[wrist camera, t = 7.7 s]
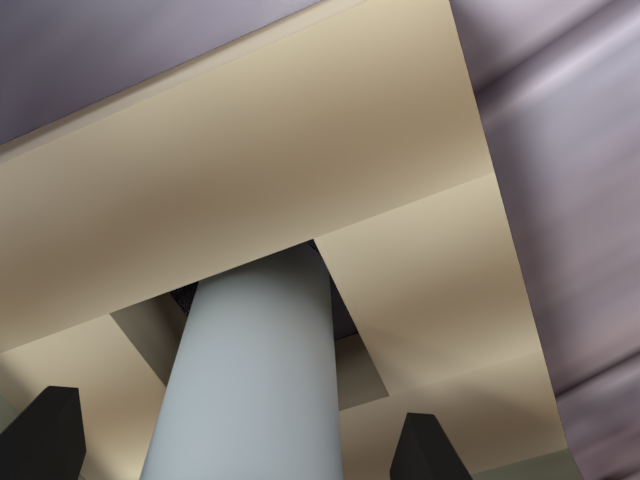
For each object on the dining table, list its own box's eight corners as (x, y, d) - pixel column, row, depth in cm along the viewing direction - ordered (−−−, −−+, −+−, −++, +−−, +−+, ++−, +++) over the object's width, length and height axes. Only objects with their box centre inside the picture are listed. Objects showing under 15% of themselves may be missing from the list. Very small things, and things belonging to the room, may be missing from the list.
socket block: (-112, 195, 15) (-283, 306, 11) (412, -41, 12) (469, -23, 8) (169, 504, 22) (136, 645, 18) (539, 398, 19) (605, 534, 15)
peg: (207, 219, 15) (128, 456, 9) (342, 242, 16) (371, 484, 9) (195, 326, 17) (122, 589, 11) (316, 343, 18) (322, 606, 11)
